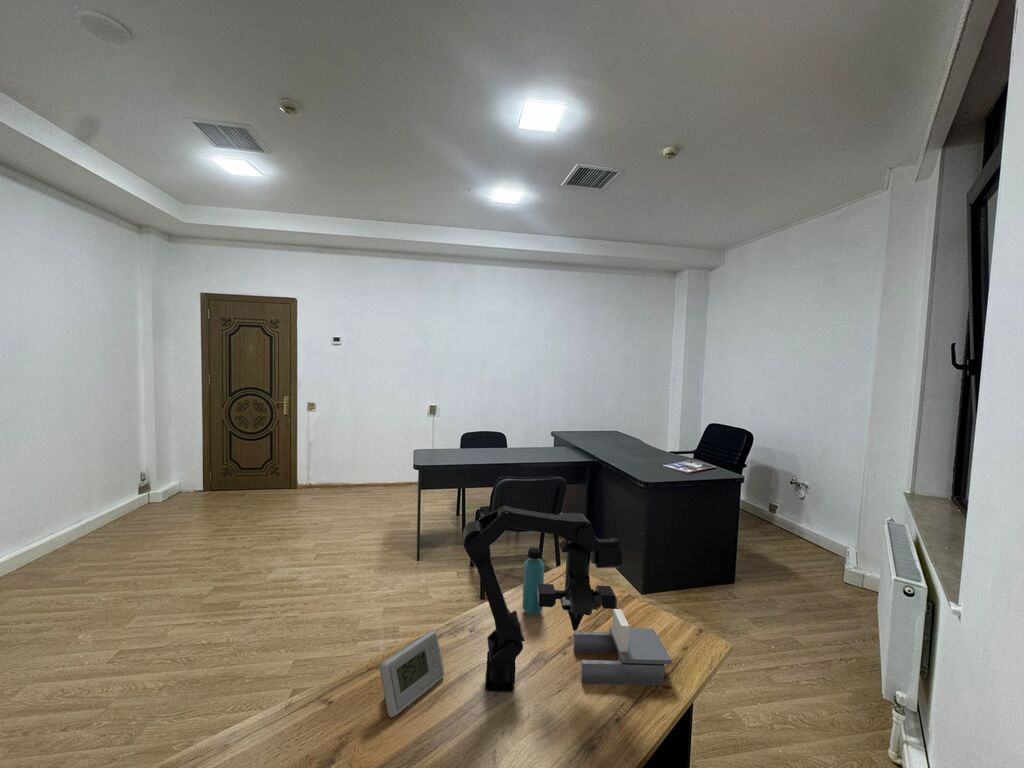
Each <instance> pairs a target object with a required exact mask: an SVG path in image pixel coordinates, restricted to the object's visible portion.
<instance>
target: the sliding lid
mask: <svg viewBox="0 0 1024 768" xmlns="http://www.w3.org/2000/svg"><path fill="white" fill-rule="evenodd" d="M612 610H613V612H612V616H613V617H612V627H609V632H610V633H611V636H612V638H613V641H614V643H615V646H616V648H617V651H618V653H619V656H620V658H621V661H622V663H644V664H664V665H672V661H673V660H672V659H671V657H670V655H669V653H668V652H667V650H666V648H665V646H664V645H663V643H662V641H661V640H660V637H659V636H658V633H657V632H656V631H655V629H654V628H642V627H641V628H640V627H639V628H638V627H630V624H629V623H628V621H627V618H626V616H625V614H624V613H623V611H622V609H621V608H619V609H617V608H616V609H612Z"/></svg>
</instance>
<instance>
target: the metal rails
mask: <svg viewBox="0 0 1024 768" xmlns="http://www.w3.org/2000/svg"><path fill="white" fill-rule="evenodd" d="M572 642H573V643H572V645H573V646H572V651H573V653H581V654H582V653H583V654H587V653H588V654H616V655H618V651H617V648H616V646H615V643H614V641H613V638H612V636H611V633H610V631H609V632H608V631H607V632H606V631H605V632H604V631H580V630H579V631H578V630H577V631H573V641H572ZM580 666H581V669H580V670H581V671H580V683H581V684H582V685H583V684H584V685H585V684H587V685H588V684H590V685H623V686H624V685H625V686H628V685H629V686H661V687H664V684H665V683H664V681H665V680H664V679H665V667H666V666H665V664H644V663H622V661H618V660H603V659H602V660H601V659H600V660H596V659H595V660H594V659H593V660H592V659H581V665H580Z"/></svg>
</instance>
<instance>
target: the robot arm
mask: <svg viewBox="0 0 1024 768" xmlns="http://www.w3.org/2000/svg"><path fill="white" fill-rule="evenodd" d="M510 528H512V529H516V530H524V531H529V532H530V531H531V532H536V533H543V534H548V535H549V534H550V535H555V536H556V537H557V536H558V537H560V538H562V539H563V540H562V541H561V542H559V543H558V547H559V549H560V550H561V552H562V553H566V555H565V556H566V557H565V560H566V561H565V577H564V578H565V580H564V590H559V589H555V586H554V584H553V583H544V584H539V586H538V587H537V596H538V602H539V606H541V607H543V608H553V607H554V606H555V605H557V604H556V602H557V601H556V600H559V601H560V605H561V609H562V610H564V611H566V612H567V613H568V615H569V620H570V623H571V627H572V631H573V632H574V631H578V628H579V626H580V624H581V621H582V620H583V618H584V616H591V615H592V613H593V610H594V611H595V610H599V608H600V609H601V607H602V608H603V609H604V610H606V609H607V610H614V609H617V606H618V598H617V595H616V593H615V592H614V589H613V588H612V587H611V585H596V586H595V588H594V589H595V590H594V589H593V588H592V587H591V582H590V580H591V579H590V568H591V566H590V565H591V564H592V565H593V564H594V566H595V568H597V569H612V568H613V569H616V568H617V569H620V568H622V565H623V555H622V550H621V546H620V540H619V539H618V538H616V537H611V538H597V536H596V535H595V527H594V526H593V524H592V523H591V522H590V521H589V520H588V519H587V517H586V516H585V515H584V514H583V513H581V512H564V513H560V514H552V513H546V512H539V511H535V510H534V511H533V510H528V509H522V508H514V507H511V506H509V505H503V506H501V507H499V508H497V509H495V510H494V511H492V512H489V513H487V514H484V515H483V516H482V517H480V518H478V520H473V521H472V520H471V521H470V522H468V523H467V524H466V525H465V526H464V528H463V532H462V533H463V534H462V535H463V547H464V551H465V552H466V553H467V555H468V557H469V559H470V561H471V562H472V564H473V565H474V566H475V567H476V568H477V571H478V575H479V578H480V581H481V583H482V584H481V585H482V586H483V590H484V593H485V596H486V598H487V603H488V604H489V608H490V611H491V613H492V617H493V619H494V624H495V630H493V631H492V632H491V633H490V634H489V635H488V636H487V638H486V641H487V649H488V650H487V652H486V653H487V654H486V655H487V656H486V669H485V683H484V690H485V692H508V693H509V692H513V691H514V684H515V683H516V660H517V657H518V656H520V654H521V653H522V651H523V649H524V644H523V642H525V640H526V639H525V635H524V633H523V632H524V631H523V628H522V624H521V621H520V620H519V616H518V612H517V610H516V609H515V610H514V611H511V610H510V609H509V608H508V605H507V602H506V600H505V596H504V594H503V591H502V588H501V585H500V581H499V579H498V578H499V577H498V575H497V573H496V569H495V567H494V563H493V559H492V555H491V547H490V546H491V545H492V544H493V543H495V542H496V541H497V540H498V539H499V538H500V537H501V535H503V533H504V532H505V531H507V530H508V529H510Z"/></svg>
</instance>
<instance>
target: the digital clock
mask: <svg viewBox="0 0 1024 768" xmlns="http://www.w3.org/2000/svg"><path fill="white" fill-rule="evenodd" d="M379 671H380V679H381V684H382V688H383V689H382V690H383V695H384V701H385V707H386V713H387V716H388V717H389V718H394V717H396V716H397V715H399V713H401V712H402V711H404V710H406V709H407V708H408V707H409V706H410V705H412V704H413V703H414V702H415V701H417V700H418V699H420V697H422V696H424V694H426V693H427V692H428V691H429V690H430V689H431V688H433V687H434V685H436V684H437V683H438V682H439V681H441V680H442V679H443V677H445V670H444V665H443V659H442V653H441V649H440V643H439V639H438V635H437V631H436V630H435V629H431V630H429V631H427V632H426V633H425V634H422V635H420V636H419V637H417V638H415V639H414V640H412V641H411V642H409V643H408V644H407V645H405V646H403V647H402V648H400V649H399V650H397V651H395V652H394V653H393V654H392V655H391V656H389V657H388V658H386V659H385V660H383V661H382V662H381V663H380V666H379ZM416 699H417V700H416ZM411 703H412V704H411ZM408 705H409V706H408ZM407 706H408V707H407ZM406 707H407V708H406ZM403 709H404V710H403Z"/></svg>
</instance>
